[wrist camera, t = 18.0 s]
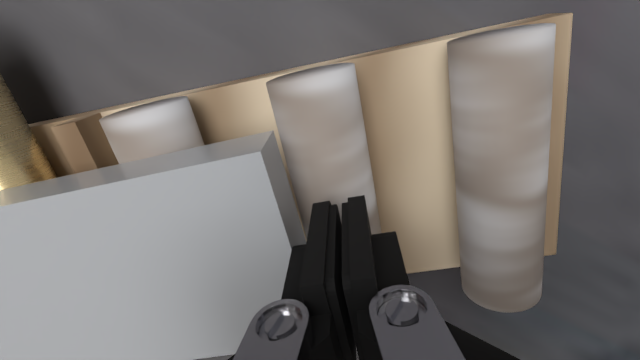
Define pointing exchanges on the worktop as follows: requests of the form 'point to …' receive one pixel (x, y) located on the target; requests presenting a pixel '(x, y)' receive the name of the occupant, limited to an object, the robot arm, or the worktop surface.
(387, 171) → the roller track
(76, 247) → the slab
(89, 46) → the worktop surface
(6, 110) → the brass roller
